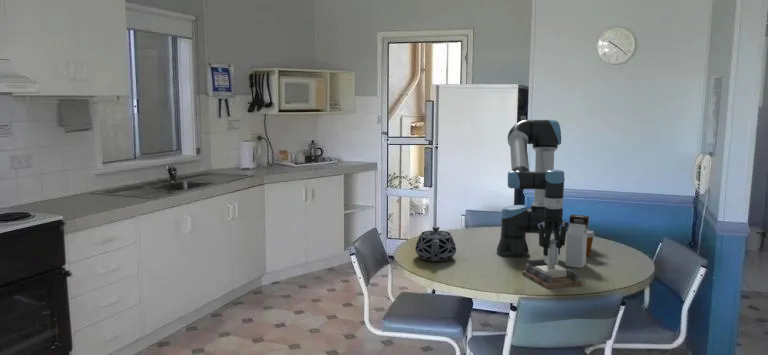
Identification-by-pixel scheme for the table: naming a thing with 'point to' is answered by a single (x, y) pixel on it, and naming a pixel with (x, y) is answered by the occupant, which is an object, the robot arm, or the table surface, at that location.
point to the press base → (546, 279)
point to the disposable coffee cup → (589, 242)
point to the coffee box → (579, 220)
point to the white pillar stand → (553, 263)
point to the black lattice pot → (435, 245)
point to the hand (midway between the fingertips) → (551, 262)
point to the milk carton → (576, 245)
